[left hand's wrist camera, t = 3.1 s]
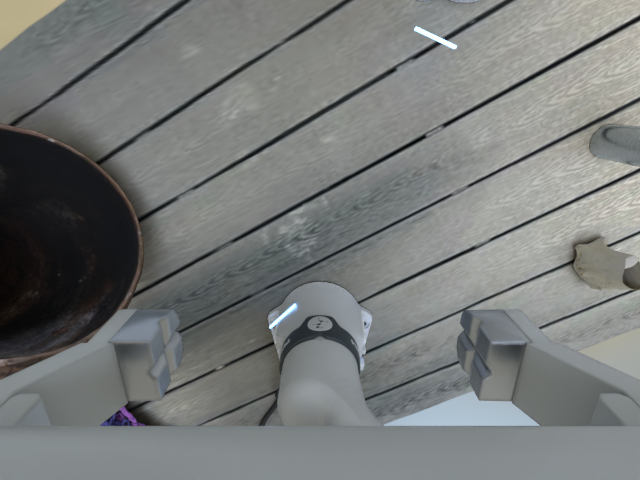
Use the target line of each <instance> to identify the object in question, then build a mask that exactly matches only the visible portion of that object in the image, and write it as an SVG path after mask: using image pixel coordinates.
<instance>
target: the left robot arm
mask: <svg viewBox="0 0 640 480" xmlns="http://www.w3.org/2000/svg"><path fill="white" fill-rule="evenodd" d="M268 322H269V326H270V327H269V328H270V329H271V333H272V336H273V339H274V343H275V346H276V350H277V353H278V357H279V360H280V361H279V362H280V374H281V380H280V387H279V388H278V390H277V391H276V394H275V396H276V401H275V403H274V405H273V406H272V407H271V409H270V410H269V411H268V412H267V414H266V415H265V417H264V418H263V420H262V422H261V424H260V426H100V425H101V424H102V423H103V422H105V421H106V420H107V419H108V418H110V417H111V416H112V415H114V414H115V413H116V412H117V411H119V410H120V409H121V408H122V407H124V406H125V405H126V404H127V403H128V401H156V400H161V399H162V397H163V395H164V394H165V392H166V390H167V388H168V386H169V384H170V382H171V380H170V374H172V373H173V372H175V371H176V370H177V369H178V367H179V365H180V363H181V359H182V355H183V340H182V336H181V335H180V334H179V333H178V332H177V331H176V329H177V327H178V325H179V324H180V321H179V317H178V313H177V312H176V311H175V310H159V309H122V310H118V311H117V312H116V313H115V315H114V316H113V317H112V318H111V319H110V320H109V321H108V322H107V323H106V324H105V325H104V326H103V327H102V328H101V329H100V330H99V331H98V332H97V333H96V334H95V335H94V336H93V337H92V338H91V339H90V340H89V341H88V343H80V344H78V345H76V346H73V347H71V348H69V349H67V350H65V351H62V352H60V353H58V354H56V355H54V356H52V357H49V358H47V359H45V360H43V361H41V362H38V363H36V364H34V365H32V366H30V367H28V368H25V369H23V370H21V371H19V372H17V373H14V374H12V375H10V376H8V377H6V378H3V379H1V380H0V480H640V380H638V379H636V378H634V377H632V376H630V375H628V374H625V373H623V372H621V371H619V370H617V369H614V368H612V367H610V366H608V365H606V364H604V363H601V362H599V361H597V360H595V359H593V358H591V357H588V356H586V355H584V354H582V353H580V352H577V351H575V350H573V349H571V348H569V347H567V346H564V345H562V344H560V343H553V342H552V341H551V340H550V339H549V338H548V337H547V336H546V335H545V334H544V333H543V332H542V331H541V330H540V329H539V328H538V327H537V326H536V325H535V324H534V323H533V322H532V321H531V320H530V319H529V318H528V316H527V315H526V314H525V313H524V312H523V311H522V310H519V309H499V310H464V311H463V313H462V316H461V321H460V324H461V325H462V327H463V329H464V331H463V332H462V333H461V334H460V335H459V336H458V340H457V356H458V359H459V363H460V365H461V367H462V369H463V370H464V371H465V372H467V373H468V374H470V380H469V382H470V384H471V386H472V388H473V390H474V392H475V394H476V395H477V397H478V399H479V400H483V401H512V403H513V404H514V405H515V406H517V407H518V408H519V409H520V410H522V411H523V412H524V413H525V414H527V415H528V416H529V417H530V418H532V419H533V420H534V421H535V422H537V423H538V424H539V425H540V426H383V425H382V424H381V422H380V421H379V420H378V419H377V418H376V417H375V416H374V414H373V413H372V412H371V410H370V409H369V407H368V406H367V404H366V402H365V399H364V395H363V392H362V388H361V383H360V378H359V374H360V371H363V369H364V358H363V357H362V354H365V353H366V347H365V343H366V339H367V336H368V333H369V329H370V326H371V322H372V314H371V312H370V311H368V310H367V309H365V308H364V307H362V306H360V305H359V304H358V303H357V301H356V300H355V299H354V297H353V296H352V295H351V294H350V293H349V292H348V291H347V290H345V289H344V288H342V287H340V286H338V285H336V284H333V283H328V282H312V283H307V284H304V285H302V286H300V287H298V288H296V289H295V290H293V291H292V292H291V293H290V294H289V295H288V296H287V297H286V299H285V300H284V301H283V303H282V304H281V305H280V306H278V307H276V308H275V309H273V310H272V311H270V312H269V314H268ZM364 322H366V323H365V324H364ZM276 408H278V414H279V417H280V419H281V422H282V423H283V425H284V426H264V425H265V423H266V421H267V419H268V418H269V417H270V415H271V414H272V413H273V411H274V410H275V409H276Z"/></svg>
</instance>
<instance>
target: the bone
mask: <svg viewBox="0 0 640 480" xmlns="http://www.w3.org/2000/svg"><path fill="white" fill-rule="evenodd" d="M575 249H576V252H577V257H576V259H575V262H574V264H573V267H574V269H575V271H576V272H577V273H578V274H579V275H580V276H581V278H583V279H584V280H585V282H586V283H587V284H588V285H589V286H590V288H592V289H599V290H601V291H603V290H608V289H627V290H639V289H640V262H639V259H638V258H637V257H636V256H634V255H630V254H625V253H621V252H618V251H614V250H612V249H610V248H609V247H607V246H606V240H605V237H600V238H599V239H596V240H595V241H593V242H591V243H589V244H578V245H577V246H576V247H575Z"/></svg>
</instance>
